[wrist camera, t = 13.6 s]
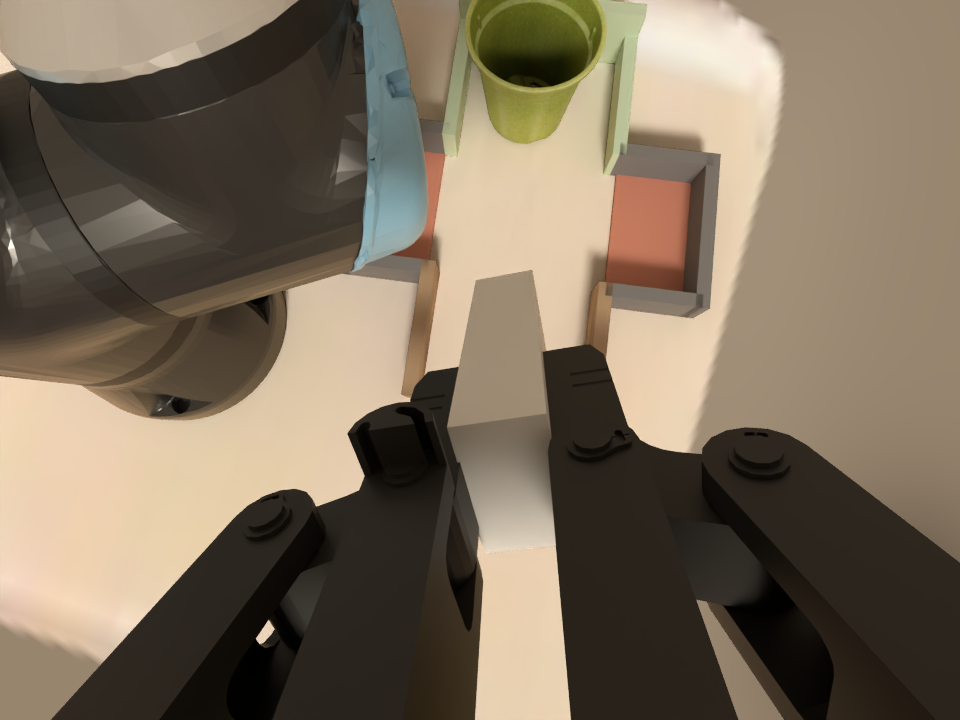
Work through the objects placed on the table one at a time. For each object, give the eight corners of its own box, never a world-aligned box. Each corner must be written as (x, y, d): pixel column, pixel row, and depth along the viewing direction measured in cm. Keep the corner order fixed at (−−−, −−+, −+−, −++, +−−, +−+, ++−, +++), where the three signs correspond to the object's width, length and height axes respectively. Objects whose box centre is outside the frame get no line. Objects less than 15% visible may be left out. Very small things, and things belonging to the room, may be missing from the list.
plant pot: (496, 43, 43) (499, -55, 34) (599, 84, 42) (628, -5, 34) (450, 136, 42) (441, 59, 33) (555, 180, 41) (573, 113, 32)
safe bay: (616, 175, 41) (633, 140, 36) (445, 155, 41) (439, 117, 36) (628, 54, 43) (647, 4, 38) (463, 35, 43) (460, -16, 38)
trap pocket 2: (431, 284, 40) (427, 272, 37) (338, 273, 40) (326, 260, 37) (452, 144, 42) (450, 122, 39) (363, 134, 42) (353, 111, 39)
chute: (590, 421, 38) (599, 420, 35) (407, 397, 39) (401, 394, 36) (603, 294, 40) (613, 283, 37) (427, 272, 40) (422, 259, 37)
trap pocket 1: (692, 318, 39) (709, 308, 36) (596, 306, 39) (605, 295, 36) (703, 174, 41) (720, 154, 38) (610, 163, 41) (620, 142, 38)
